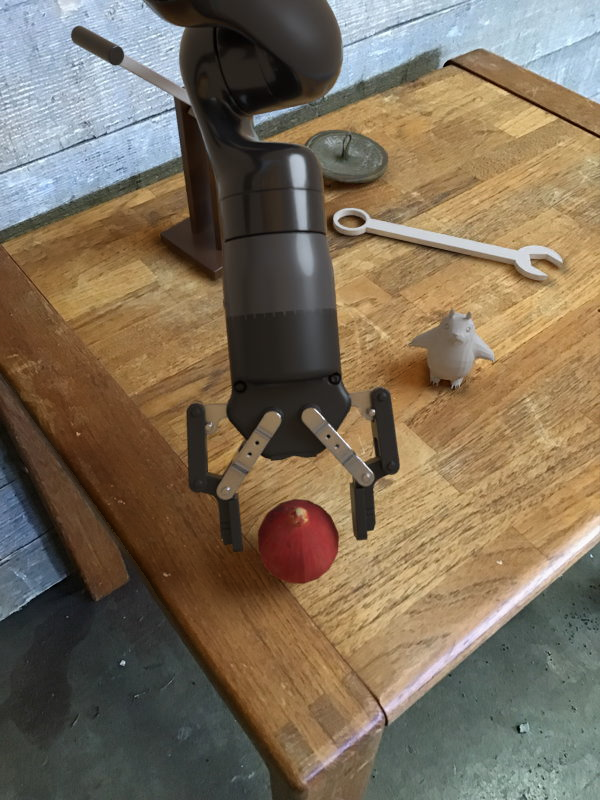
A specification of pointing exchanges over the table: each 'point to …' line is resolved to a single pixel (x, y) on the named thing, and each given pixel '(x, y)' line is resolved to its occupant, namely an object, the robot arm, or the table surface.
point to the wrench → (453, 243)
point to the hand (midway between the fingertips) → (299, 543)
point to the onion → (298, 541)
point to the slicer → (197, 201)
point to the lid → (348, 156)
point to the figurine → (452, 348)
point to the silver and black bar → (125, 62)
